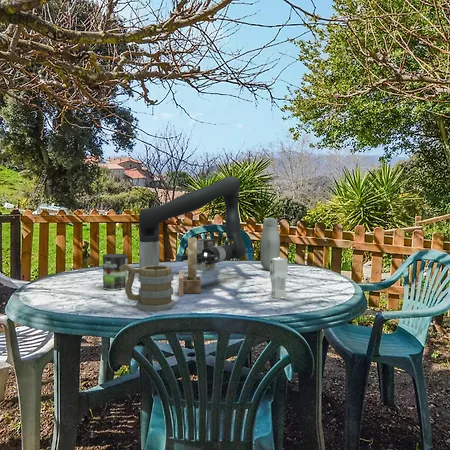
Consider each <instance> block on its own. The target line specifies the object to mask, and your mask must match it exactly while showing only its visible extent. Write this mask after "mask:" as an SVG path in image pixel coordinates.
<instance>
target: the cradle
mask: <svg viewBox="0 0 450 450" xmlns="http://www.w3.org/2000/svg"><path fill="white" fill-rule="evenodd" d="M201 292H202V280H201V276H198V275H196V280H188V276H184V279H183V294H202V293H201Z"/></svg>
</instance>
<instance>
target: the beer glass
mask: <svg viewBox="0 0 450 450" xmlns="http://www.w3.org/2000/svg"><path fill="white" fill-rule="evenodd" d="M288 268H289V267H288V258H286V257H280V258H271V259H270V270H269V278H270V282H271V292H270V297H271V298H272V297H276V298H275V299H277V298H281V297H286V298H287V294H286V284H287V279H288V270H289V269H288ZM281 299H282V298H281Z"/></svg>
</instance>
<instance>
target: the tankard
mask: <svg viewBox="0 0 450 450" xmlns="http://www.w3.org/2000/svg"><path fill="white" fill-rule="evenodd" d="M119 269H120V270H121V271H123V270H124V269H125V270H127V282H126V285H125V289H124V291H125V294H126V297H127V298H128V300H131V301H134V302H136V301H137V302H136V307H137V308H138V307H139V308H140V309H139V308H138V309H139V310H141V309H142V310H141V311H143V310H150V311H149V312H161V311H168V310H171V309H172V308H174V307H175V306H176V301H175V300H174V299H172V295H173V294H174V287H172V282H173V281H174V274H173V273H172V267H171V266H168V265H163V264H162V265H161V264H159V265H156V266H155V265H153V266H144V267H142V268H140V269H139V268H136V267H133V266H131V265H129V264H128V263H127V264H124V265H122V266H120V267H119ZM135 274H138V275H137V276H138V280H137V281H138V282H139V283H140V285H139V288H138V289H137V290H138V294H134V293H133V291H132V288H133V287H132V286H133V284H134V280H135ZM139 274H140V275H139Z"/></svg>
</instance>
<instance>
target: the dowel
mask: <svg viewBox="0 0 450 450" xmlns="http://www.w3.org/2000/svg"><path fill="white" fill-rule="evenodd" d="M197 240H198V238H197V237H187V253H188V260H187V277H188V280H196V277H197V271H198V270H197Z"/></svg>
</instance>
